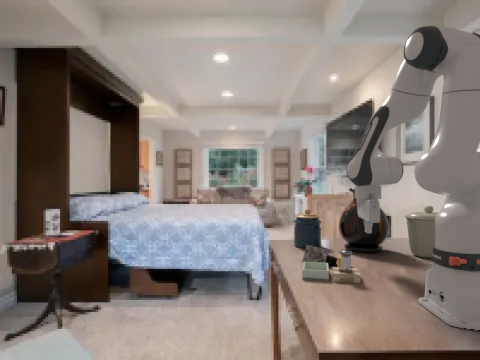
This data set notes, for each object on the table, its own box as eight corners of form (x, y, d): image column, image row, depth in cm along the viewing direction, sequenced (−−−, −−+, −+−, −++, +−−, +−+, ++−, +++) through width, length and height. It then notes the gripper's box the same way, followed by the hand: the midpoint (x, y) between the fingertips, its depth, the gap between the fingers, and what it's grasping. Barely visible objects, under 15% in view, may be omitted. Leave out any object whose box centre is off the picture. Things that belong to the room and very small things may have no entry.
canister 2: (455, 255, 148) (455, 205, 148) (452, 263, 133) (452, 208, 133) (408, 250, 158) (408, 203, 158) (401, 257, 144) (401, 205, 144)
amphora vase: (395, 256, 146) (395, 188, 146) (341, 254, 149) (342, 188, 149) (382, 246, 167) (382, 187, 167) (336, 244, 171) (336, 187, 171)
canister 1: (291, 247, 164) (291, 209, 164) (295, 242, 176) (295, 207, 176) (320, 249, 160) (320, 210, 160) (322, 244, 172) (322, 208, 172)
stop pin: (352, 280, 110) (352, 252, 110) (340, 280, 111) (340, 252, 111) (351, 277, 114) (351, 250, 113) (339, 276, 114) (339, 249, 114)
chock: (349, 269, 124) (349, 258, 124) (337, 268, 125) (337, 257, 125) (348, 265, 130) (348, 255, 130) (337, 265, 131) (337, 254, 131)
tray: (328, 280, 110) (328, 271, 110) (302, 279, 112) (302, 269, 112) (327, 271, 121) (328, 263, 121) (303, 270, 123) (303, 261, 123)
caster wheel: (335, 269, 134) (332, 271, 125) (307, 260, 138) (301, 262, 129) (340, 252, 134) (336, 253, 125) (311, 244, 139) (306, 244, 130)
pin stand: (360, 283, 107) (360, 275, 107) (333, 281, 109) (333, 273, 109) (357, 276, 115) (357, 268, 115) (332, 274, 117) (332, 267, 117)
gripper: (385, 194, 114) (385, 237, 114) (370, 193, 134) (371, 229, 134) (364, 194, 115) (365, 237, 115) (353, 193, 135) (354, 228, 135)
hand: (368, 232), depth 125 cm, fingers closed
